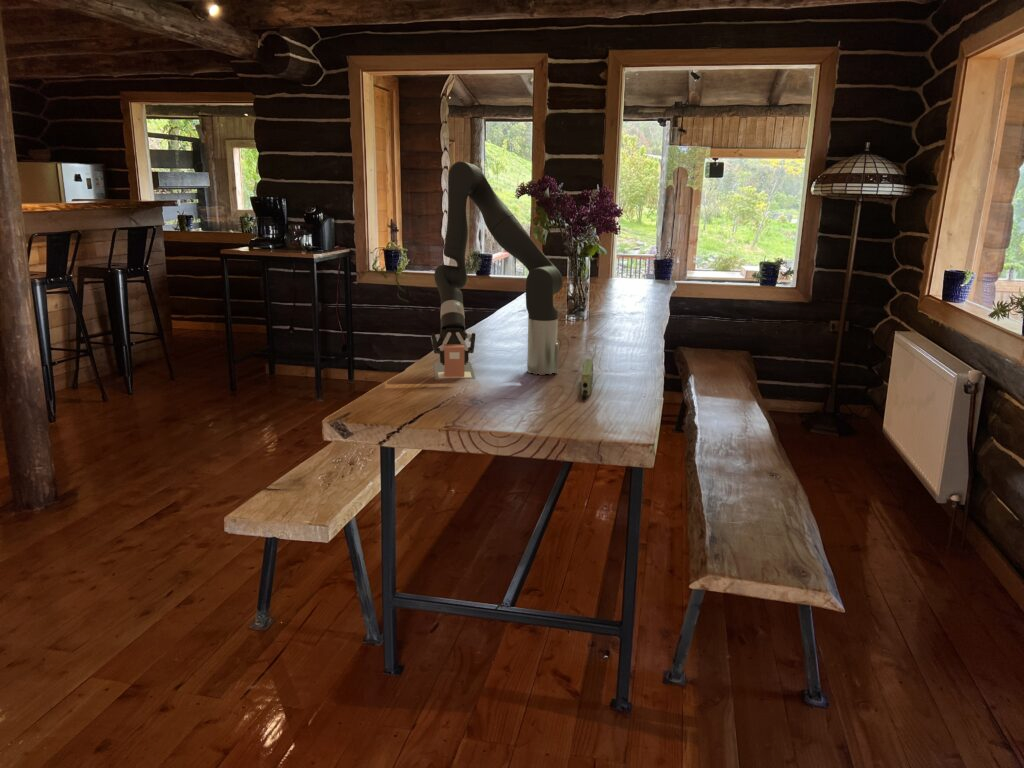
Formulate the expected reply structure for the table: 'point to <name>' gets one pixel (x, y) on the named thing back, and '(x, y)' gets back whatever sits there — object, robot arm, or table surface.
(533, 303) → the robot arm
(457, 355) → the block
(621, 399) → the table surface
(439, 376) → the pin board
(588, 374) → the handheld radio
